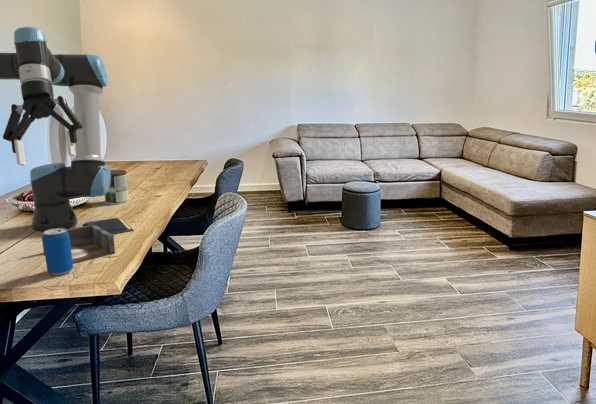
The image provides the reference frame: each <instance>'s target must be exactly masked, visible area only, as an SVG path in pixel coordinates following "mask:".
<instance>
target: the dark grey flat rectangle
mask: <svg viewBox="0 0 596 404" xmlns="http://www.w3.org/2000/svg"><path fill="white" fill-rule="evenodd" d="M93 224H94V225H96V226H98V227H100V228H102V229H103V230H105V231H107V232H109V233H111V234H112V235H113V236H114V235H119V234H120V235H121V234H124V233H125V232H126V233H130V232H131V231H132V232H134V231H135V230H134V229H133V227H131V226H130V225H129V224H128V223H127V222H126V221H125V220H124V219H123V218H118V217H114V218H105V219H100V220H91V221H88V222H85V223H83V224H82V227H83V226H88V225H93Z"/></svg>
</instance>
